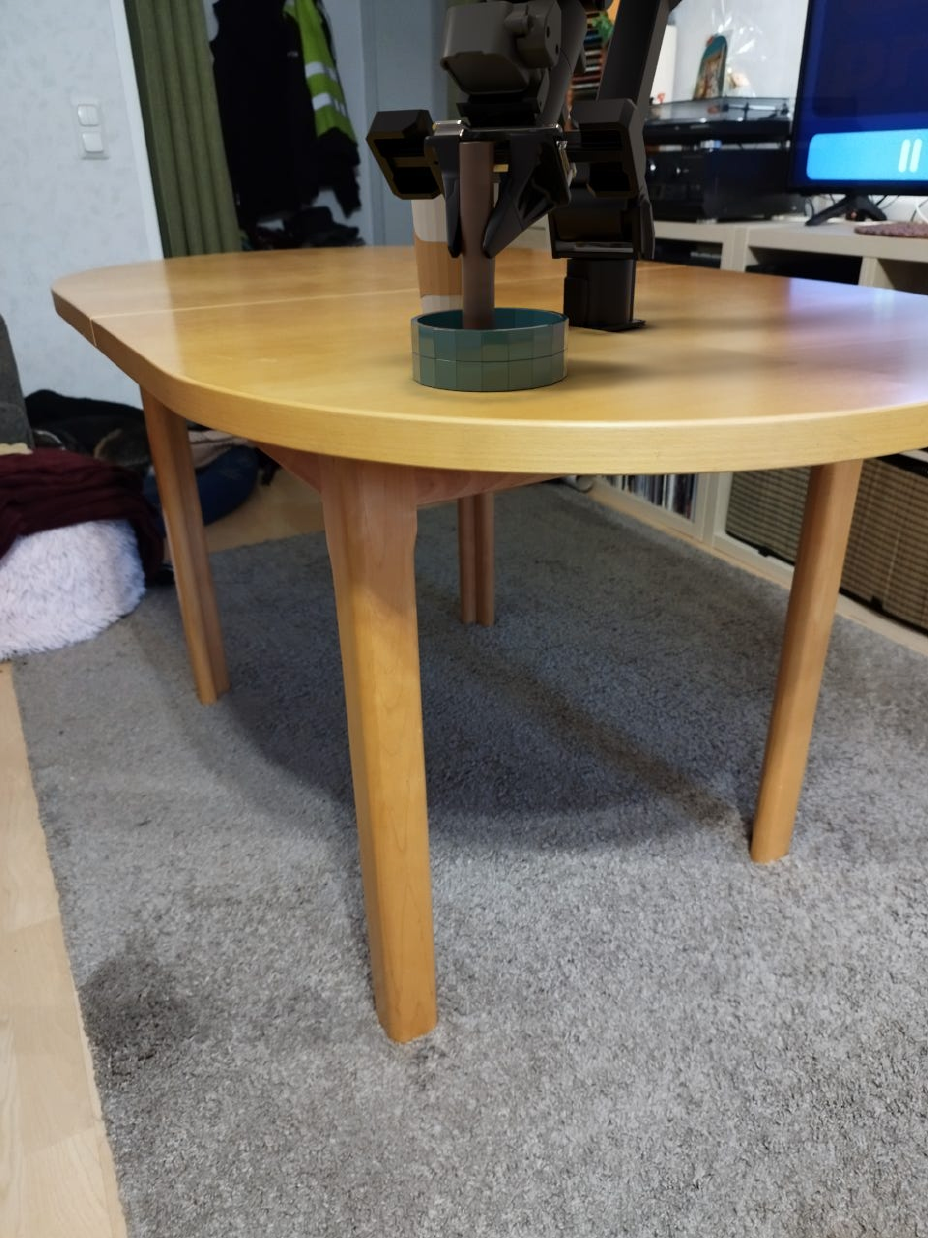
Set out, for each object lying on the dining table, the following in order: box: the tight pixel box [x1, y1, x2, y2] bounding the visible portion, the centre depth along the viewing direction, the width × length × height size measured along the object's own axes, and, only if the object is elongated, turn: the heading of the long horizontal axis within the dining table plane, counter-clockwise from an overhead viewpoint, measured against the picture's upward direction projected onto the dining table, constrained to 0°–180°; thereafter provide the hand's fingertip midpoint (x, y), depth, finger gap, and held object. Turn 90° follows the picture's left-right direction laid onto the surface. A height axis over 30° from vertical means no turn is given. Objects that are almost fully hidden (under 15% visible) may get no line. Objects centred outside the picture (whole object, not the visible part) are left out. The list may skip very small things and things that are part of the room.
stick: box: [459, 142, 496, 330], centre depth 60 cm, size 4×4×14 cm
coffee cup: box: [410, 173, 502, 314], centre depth 82 cm, size 8×8×15 cm
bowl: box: [410, 306, 569, 392], centre depth 63 cm, size 11×11×4 cm
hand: (469, 253), depth 59 cm, fingers closed on stick, 2 cm apart
